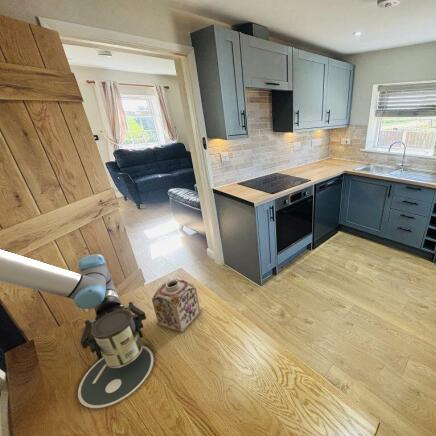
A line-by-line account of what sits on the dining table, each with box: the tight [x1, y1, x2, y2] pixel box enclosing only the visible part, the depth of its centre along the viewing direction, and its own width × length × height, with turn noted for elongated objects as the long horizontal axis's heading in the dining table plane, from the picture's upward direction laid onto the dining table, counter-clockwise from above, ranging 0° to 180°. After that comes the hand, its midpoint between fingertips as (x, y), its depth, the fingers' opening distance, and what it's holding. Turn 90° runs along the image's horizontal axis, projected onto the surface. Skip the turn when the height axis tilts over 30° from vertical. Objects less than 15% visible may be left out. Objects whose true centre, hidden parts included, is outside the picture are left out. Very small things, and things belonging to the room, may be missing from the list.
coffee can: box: [91, 310, 144, 368], centre depth 75 cm, size 10×10×14 cm
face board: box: [77, 345, 154, 409], centre depth 76 cm, size 20×20×1 cm
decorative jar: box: [151, 278, 201, 333], centre depth 94 cm, size 12×12×18 cm
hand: (121, 344), depth 72 cm, fingers closed on coffee can, 10 cm apart
